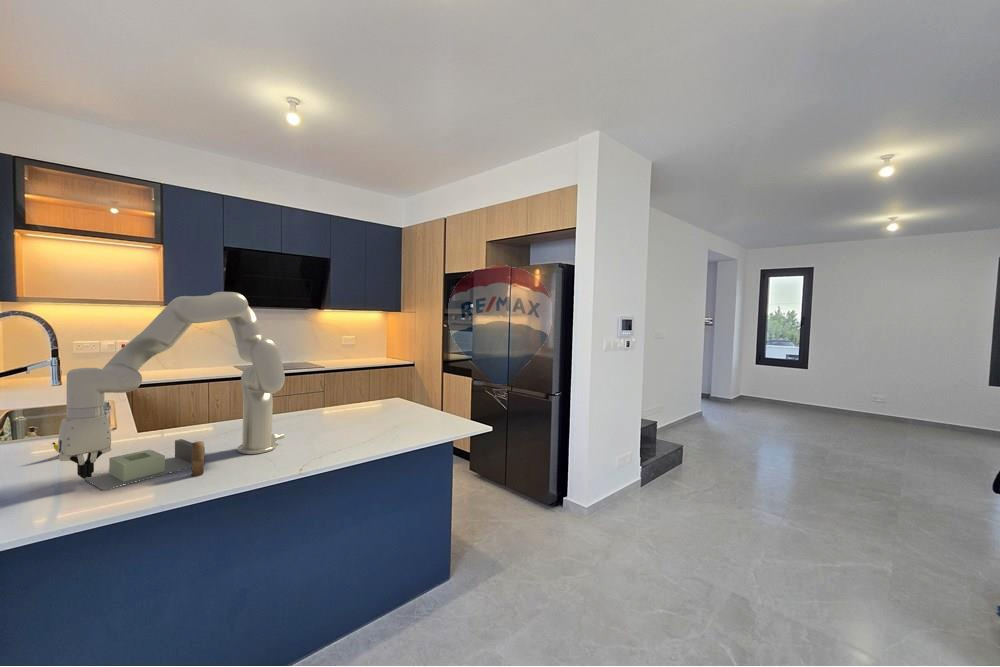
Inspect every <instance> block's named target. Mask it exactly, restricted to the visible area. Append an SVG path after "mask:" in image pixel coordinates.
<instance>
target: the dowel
mask: <svg viewBox="0 0 1000 667" xmlns="http://www.w3.org/2000/svg"><path fill="white" fill-rule="evenodd" d="M191 443H192V468H191V476H192V475H193V476H192V477H199V476H198V475H201V476H203V475H204V474H203V473H204V466H205V454H204V447H205V442H204V441H194V442H191ZM202 474H203V475H202Z"/></svg>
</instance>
